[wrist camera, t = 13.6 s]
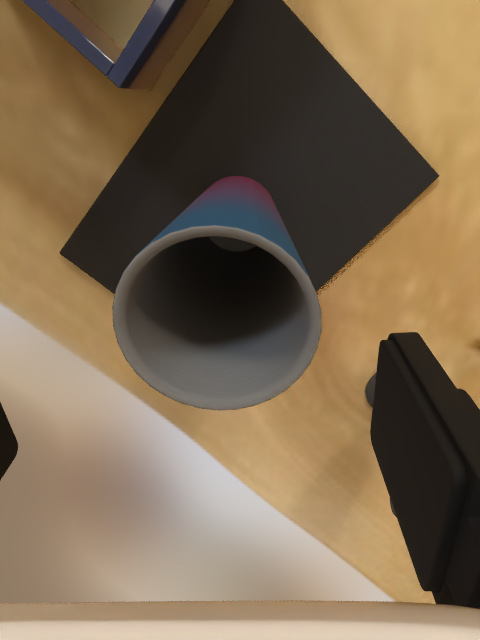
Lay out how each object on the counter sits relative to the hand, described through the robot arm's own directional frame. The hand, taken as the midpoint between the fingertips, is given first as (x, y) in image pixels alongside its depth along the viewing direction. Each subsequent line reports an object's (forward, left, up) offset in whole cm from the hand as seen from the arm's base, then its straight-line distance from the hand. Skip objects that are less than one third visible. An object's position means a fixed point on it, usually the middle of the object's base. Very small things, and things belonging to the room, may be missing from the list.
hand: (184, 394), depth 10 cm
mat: (+1, 0, -19) cm, 19 cm away
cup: (+1, 0, -19) cm, 19 cm away
